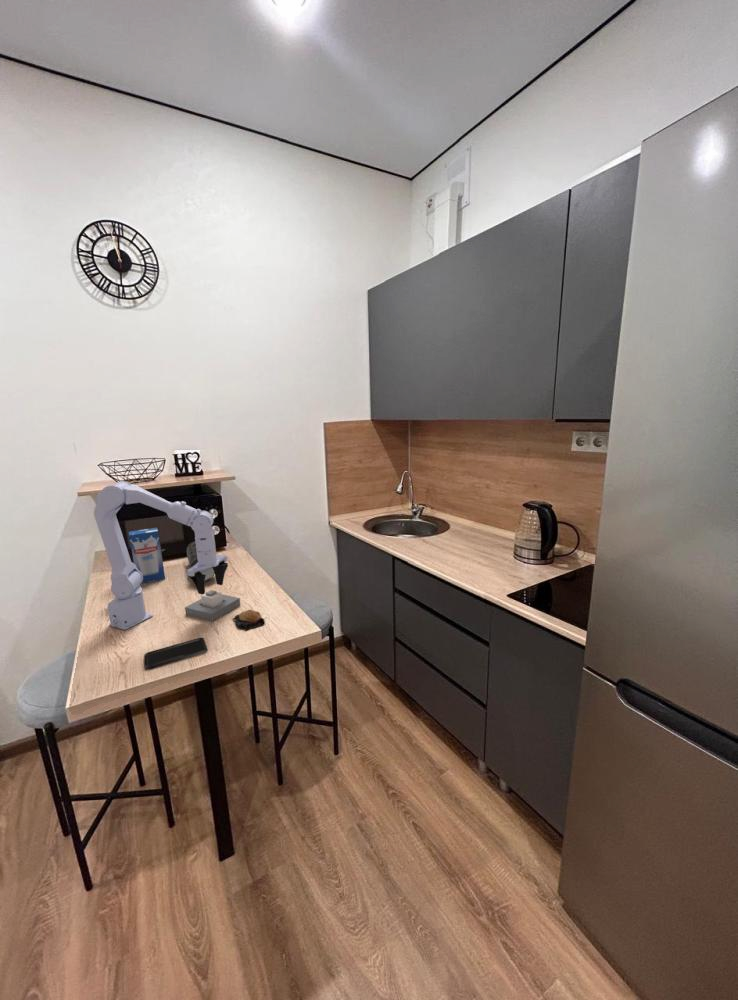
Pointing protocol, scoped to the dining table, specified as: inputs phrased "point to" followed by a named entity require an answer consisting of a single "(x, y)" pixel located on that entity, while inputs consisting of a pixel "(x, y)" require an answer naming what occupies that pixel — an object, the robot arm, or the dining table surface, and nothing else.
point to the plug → (211, 599)
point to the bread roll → (248, 620)
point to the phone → (174, 653)
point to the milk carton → (147, 554)
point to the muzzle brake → (193, 560)
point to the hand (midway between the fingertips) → (210, 588)
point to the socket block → (212, 613)
